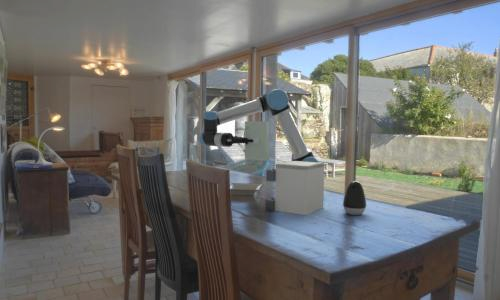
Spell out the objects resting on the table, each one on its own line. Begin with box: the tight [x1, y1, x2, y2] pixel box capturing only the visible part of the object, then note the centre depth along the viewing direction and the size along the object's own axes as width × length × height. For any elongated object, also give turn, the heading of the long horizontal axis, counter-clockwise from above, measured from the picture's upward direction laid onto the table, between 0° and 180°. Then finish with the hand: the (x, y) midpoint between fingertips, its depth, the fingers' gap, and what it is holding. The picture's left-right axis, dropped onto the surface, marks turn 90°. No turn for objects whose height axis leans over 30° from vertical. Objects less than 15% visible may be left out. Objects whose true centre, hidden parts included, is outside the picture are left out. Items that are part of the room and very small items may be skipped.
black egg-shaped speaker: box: [342, 180, 367, 216], centre depth 177 cm, size 10×10×15 cm
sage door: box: [244, 121, 270, 162], centre depth 201 cm, size 4×13×20 cm, turn 57°
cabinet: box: [274, 160, 325, 216], centre depth 185 cm, size 20×16×22 cm
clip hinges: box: [265, 168, 276, 212], centre depth 184 cm, size 7×4×19 cm, turn 147°
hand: (261, 140), depth 200 cm, fingers closed on sage door, 3 cm apart
